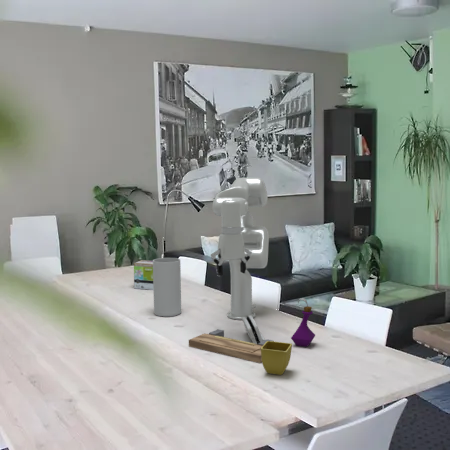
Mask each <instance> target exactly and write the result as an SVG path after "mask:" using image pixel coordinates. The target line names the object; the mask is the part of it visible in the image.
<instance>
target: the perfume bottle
mask: <svg viewBox="0 0 450 450" xmlns="http://www.w3.org/2000/svg"><path fill="white" fill-rule="evenodd" d="M300 301H303V302H305V304H306V306H304V307H303V310H302V311H301V314H303V317H302V320H301V322H300V323H299V326H298V327H297V328H296V330H295V332H294V333H293V335H292V336H291V337H290V339H291V340H292V341H293V343H294V344H295V346H297V347H303V348H304V347H305V348H307V347H308V346H310V344H312V341H314V338H315V337H316V334H315V333H314V332H313V331H312V330H311V328H309V325H308V320H309V317H310V316H311V315H313V311H312V306H309V304H308V300H307V299H306V298H305V297H302V298H299V299H298V301H297V304H299V303H300Z"/></svg>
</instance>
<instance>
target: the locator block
mask: <svg viewBox="0 0 450 450" xmlns="http://www.w3.org/2000/svg"><path fill="white" fill-rule="evenodd" d="M208 334H210V335H215V336H221V337H225V330H224V329H215V330H213V331H210V332H209V333H208Z"/></svg>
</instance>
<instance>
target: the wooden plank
mask: <svg viewBox="0 0 450 450" xmlns="http://www.w3.org/2000/svg"><path fill="white" fill-rule="evenodd" d="M188 347H190V348H195V349H199V350H204V351H207V352H210V353H211V352H212V353H216V354H220V355H224V356H228V357H233V358H238V359H241V360H246V361H249V362H254V363H259V364H261V363H262V356H261V347H262V345H258V344H254V343H253V342H249V341H244V340H240V339H234V338H230V337H226V336H224V337H221V336H215V335H210V334H209V333H202V334H200V335H197V336H195V337H193V338H190V339H188Z"/></svg>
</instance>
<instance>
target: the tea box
mask: <svg viewBox="0 0 450 450" xmlns="http://www.w3.org/2000/svg"><path fill="white" fill-rule="evenodd" d="M133 286H134V287H133V288H134V289H135V290H137V289H141V290H152V291H154V287H153V260H146V259H141V260H139V261H136V262H134V263H133Z"/></svg>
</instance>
